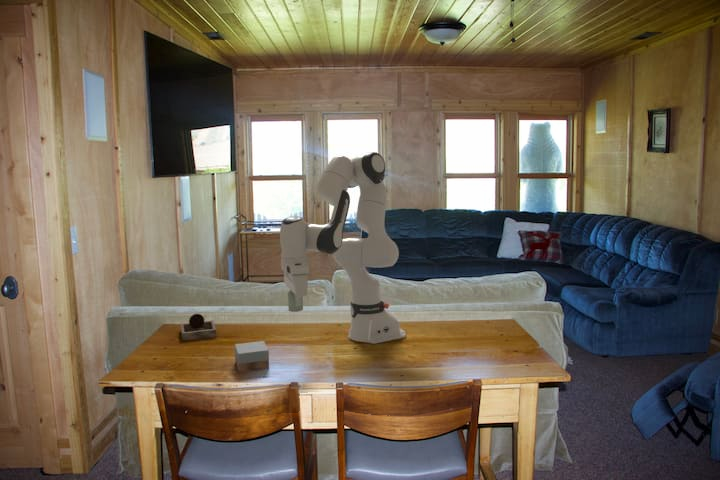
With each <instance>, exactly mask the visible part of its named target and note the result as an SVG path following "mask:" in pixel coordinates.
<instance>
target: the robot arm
mask: <svg viewBox="0 0 720 480" xmlns="http://www.w3.org/2000/svg"><path fill="white" fill-rule="evenodd" d="M385 173H386V161H385V159H384V157H383V156H382V155H381V154H380V153H378V152H377V151H375V152H374V151H371V152H366V153H364V154H359V155H358V156H355V157H353V158H351V159H350V158H349V157H347V156H344V155H336V156H333V158H332V159H330V161H329V162H328V164H327V165H326V167H325V168H324V170H323V171H322V173H321V175H320V177H319V180H318V182H317V186H316V189H317V193H318V195H319V197H320V199H321V200H323V201H324V202H325V203H327V204H328V205H331V206H332V207H333V210H332V212H331V217H330V221H329V222H328V223H325V224H320V223H319V224H316V223H310V222H307V221H305V220H304V218H303V216H300V215H299V216H298V215H296V216H295V215H294V216H288V217H286V218H284V219H282V220H281V224H280V232H279V240H280V241H279V242H280V247H281V253H280V254H281V255H280V267H281V271H283V282H284V285H285V286H286V287H287V288H288V292H293V294H294V295H295V305H296V306H300V305H301V297H306V296H307V295H308V284H309V283H308V281H309V277H308V274H309V273H310V267H309V264H308V256H307V255H308V253H307V252H308V251H309V252H314V253H315V252H318V253H323V254H328V255H332V257H333V259H334V261H335V263H336V264H338V265H339V266H340V267H341V268H342V269H343V270H344V271H345V273H346V274H347V276H348V279H349V281H350V288H351V301H350V316H351V317H350V318H351V321H350V326H349V327H350V328H349V332H348V338H349V339H350V340H352V341H354V342H358V343H359V342H360V343H367V344H372V345H376V344H380V343H384V342H390V341H394V340H399V339H404V338H406V331H404V330H403V328H401V327H400V323H399V321H398V318H397V317H395V316H394V315H393V314H391V313H390V312H389V311H387V310H388V309H389V308H390V305H389V303H387V302H385V301H382V300H381V283H380V281H379V280H378V279H377V278H376V277H375V276H373V275H372V274H370V273H369V272H368V270H367V268H378V269H379V268H381V269H382V268H389V267H393V266H394V265H395V264H396V263H397V261H398V259H399V255H400V251H399V247H398V245H397V244H396V242H395V241H394V240H393V239H391V237H390V236H389V235H388V233H387V230H386V226H385V217H386V210H387V188H386V185H385V183H384V182H383V181H384V179H385V175H386V174H385ZM355 187H358V188H359V192H360V193H359V198H358V203H357V211H356V217H355V224H356V226H357V227H358V229H360V230H362V231H363V232H365V233H367V235H368V236H367V237H365V238H361V237H347V238H343V237H344V235H343V234H344V230H345V227H346V226H345V225H346V221H347V217H348V213H349V208H350V205H351V197H350V193H349V191H348V189H352V188H355ZM306 251H307V252H306ZM386 309H387V310H386Z"/></svg>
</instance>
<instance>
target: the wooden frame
mask: <svg viewBox="0 0 720 480" xmlns="http://www.w3.org/2000/svg"><path fill="white" fill-rule="evenodd" d="M201 328H205V329H209V330H201V331H194V330H195V329H194V328H192V327H191V326H190V324H189V322H186V323H181V324H180V332H181V333H180V334H181V340H182V341H193V340H202V339H209V338H216V337H217V328H216V325H215V321H214V320H206V321H205V320H204V324H203V326H202V327H201ZM210 328H211V329H210Z"/></svg>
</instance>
